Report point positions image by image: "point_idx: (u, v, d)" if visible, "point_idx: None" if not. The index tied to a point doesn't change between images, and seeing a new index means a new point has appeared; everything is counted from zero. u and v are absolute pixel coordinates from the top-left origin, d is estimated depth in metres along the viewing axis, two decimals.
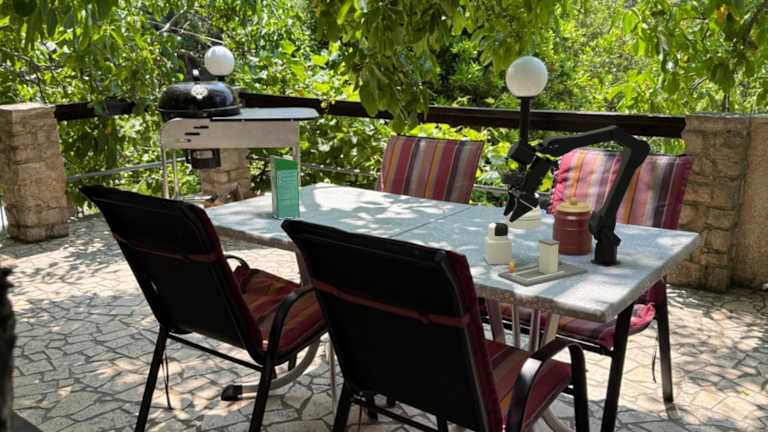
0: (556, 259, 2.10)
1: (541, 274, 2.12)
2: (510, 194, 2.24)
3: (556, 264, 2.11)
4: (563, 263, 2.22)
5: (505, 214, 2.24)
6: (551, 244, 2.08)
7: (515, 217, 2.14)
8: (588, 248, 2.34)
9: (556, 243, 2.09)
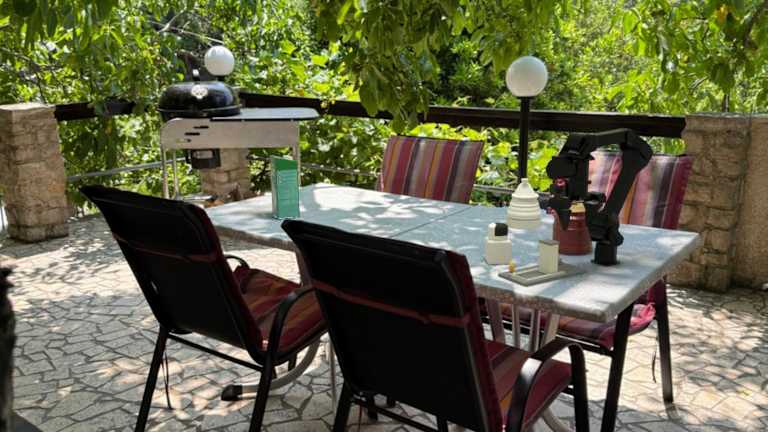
0: (556, 259, 2.10)
1: (541, 274, 2.12)
2: (584, 204, 2.18)
3: (556, 264, 2.11)
4: (563, 263, 2.22)
5: (586, 225, 2.18)
6: (551, 244, 2.08)
7: (564, 224, 2.12)
8: (588, 248, 2.34)
9: (556, 243, 2.09)
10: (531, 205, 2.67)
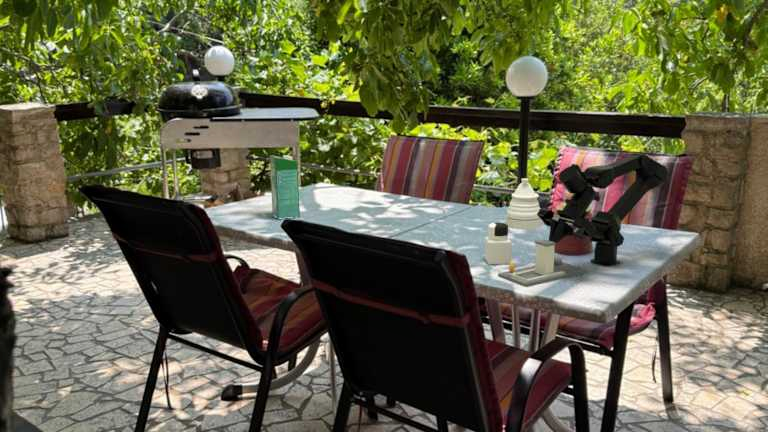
0: (552, 260, 2.09)
1: None
2: None
3: (552, 265, 2.10)
4: (563, 263, 2.22)
5: None
6: (547, 245, 2.07)
7: None
8: (588, 248, 2.34)
9: (552, 244, 2.08)
10: (531, 205, 2.67)
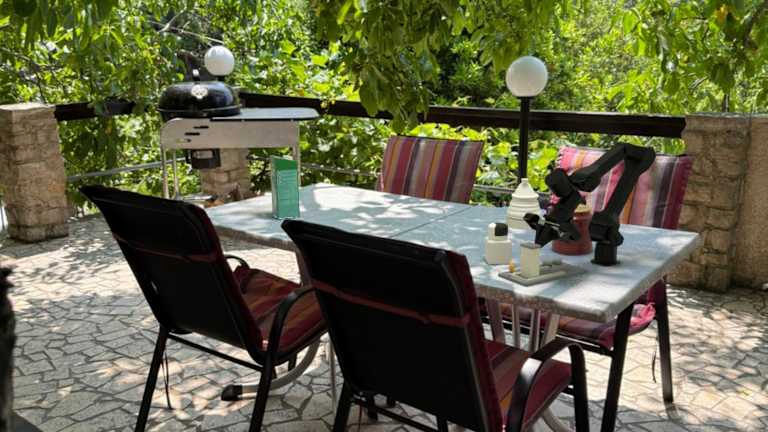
0: (537, 263, 2.07)
1: (541, 274, 2.12)
2: None
3: (538, 268, 2.07)
4: (563, 263, 2.22)
5: None
6: (532, 248, 2.04)
7: None
8: (588, 248, 2.34)
9: (537, 247, 2.05)
10: (531, 205, 2.67)
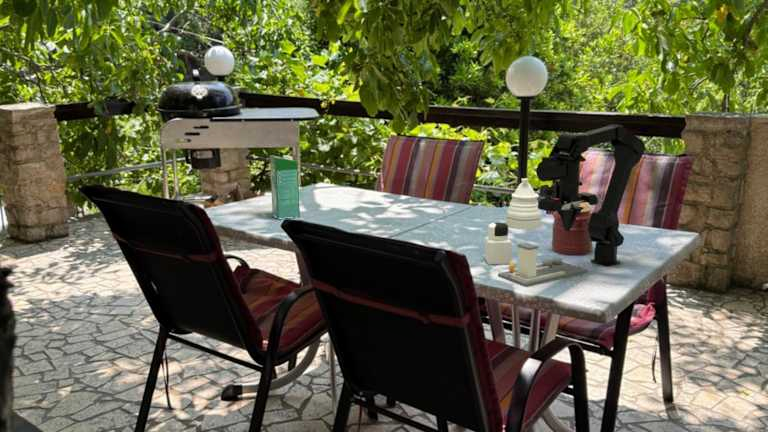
0: (534, 263, 2.06)
1: (541, 274, 2.12)
2: None
3: (535, 269, 2.06)
4: (563, 263, 2.22)
5: None
6: (529, 248, 2.04)
7: (565, 224, 2.12)
8: (588, 248, 2.34)
9: (535, 247, 2.05)
10: (531, 205, 2.67)
